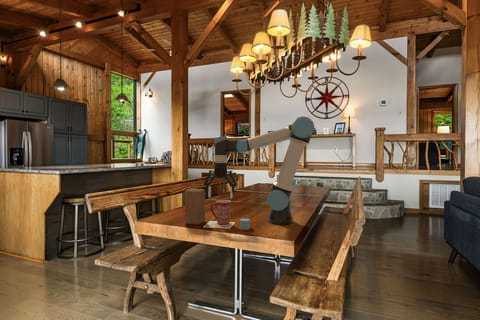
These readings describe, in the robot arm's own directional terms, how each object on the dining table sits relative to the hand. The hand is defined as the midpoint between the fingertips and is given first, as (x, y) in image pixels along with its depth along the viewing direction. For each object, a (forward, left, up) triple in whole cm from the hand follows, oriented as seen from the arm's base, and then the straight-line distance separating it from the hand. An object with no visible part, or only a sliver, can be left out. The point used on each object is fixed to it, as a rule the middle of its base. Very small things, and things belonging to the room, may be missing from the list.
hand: (220, 197), depth 167 cm
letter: (0, +3, -16) cm, 16 cm away
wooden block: (+16, +1, -16) cm, 22 cm away
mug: (0, 0, -16) cm, 16 cm away
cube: (-16, +7, -16) cm, 24 cm away
